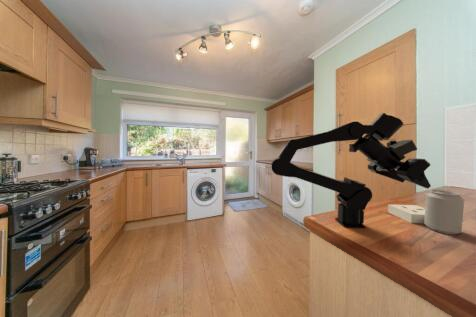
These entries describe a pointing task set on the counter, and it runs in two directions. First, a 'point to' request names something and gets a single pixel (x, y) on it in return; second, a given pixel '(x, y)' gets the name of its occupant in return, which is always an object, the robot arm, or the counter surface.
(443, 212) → the can
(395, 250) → the counter surface
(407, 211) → the socket block
